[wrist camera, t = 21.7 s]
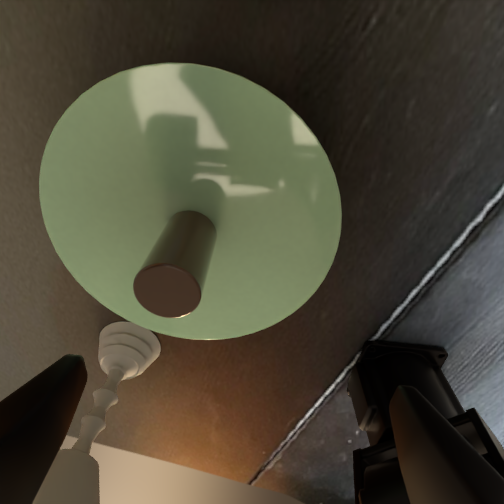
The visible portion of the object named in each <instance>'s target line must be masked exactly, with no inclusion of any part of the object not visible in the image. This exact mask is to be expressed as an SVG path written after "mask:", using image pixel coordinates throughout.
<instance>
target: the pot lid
mask: <svg viewBox="0 0 504 504" xmlns="http://www.w3.org/2000/svg"><path fill="white" fill-rule="evenodd" d="M39 195H40V204H41V210H42V215H43V220H44V223H45V226H46V229H47V232H48V235H49V237H50V239H51V242H52V244H53V246H54V248H55V250H56V252H57V254H58V255H59V257H60V259H61V260H62V262H63V263H64V265H65V267H66V268H67V269H68V270H69V272H70V273H71V274H72V276H73V277H74V278H75V279H76V281H77V282H78V283H79V284H80V285H81V286H82V287H83V288H84V289H85V290H86V291H87V292H88V293H89V294H90V295H92V296H93V297H94V298H95V299H96V300H97V301H99V302H100V303H101V304H102V305H104V306H105V307H107V308H108V309H110V310H111V311H113V312H114V313H116V314H117V315H119V316H121V317H123V318H125V319H126V320H128V321H130V322H132V323H134V324H137V325H139V326H141V327H143V328H146V329H149V330H152V331H155V332H158V333H161V334H166V335H170V336H174V337H180V338H187V339H199V340H215V339H227V338H234V337H239V336H243V335H247V334H251V333H254V332H257V331H260V330H262V329H265V328H268V327H270V326H272V325H274V324H276V323H278V322H280V321H281V320H283V319H284V318H286V317H287V316H289V315H291V314H292V313H294V312H295V311H296V310H297V309H298V308H299V307H301V306H302V305H303V304H304V303H305V302H306V301H307V300H308V299H309V298H310V297H311V296H312V295H313V294H314V293H315V291H316V290H317V289H318V287H319V286H320V284H321V283H322V281H323V280H324V279H325V277H326V275H327V273H328V271H329V269H330V267H331V265H332V263H333V260H334V257H335V254H336V251H337V249H338V244H339V239H340V234H341V221H342V209H341V199H340V192H339V188H338V184H337V180H336V176H335V173H334V171H333V168H332V166H331V163H330V161H329V159H328V156H327V154H326V153H325V151H324V149H323V147H322V146H321V144H320V142H319V141H318V139H317V137H316V136H315V134H314V133H313V132H312V130H311V129H310V128H309V127H308V126H307V124H306V123H305V122H304V121H303V119H302V118H301V117H300V116H299V115H298V114H297V113H296V112H295V111H294V110H293V109H292V108H291V107H290V106H288V105H287V104H286V103H285V102H284V101H283V100H282V99H280V98H279V97H277V96H276V95H275V94H273V93H272V92H270V91H269V90H267V89H266V88H265V87H263V86H261V85H259V84H257V83H255V82H253V81H251V80H249V79H247V78H245V77H243V76H241V75H238V74H235V73H232V72H230V71H227V70H224V69H221V68H217V67H212V66H207V65H201V64H196V63H176V62H167V63H158V64H150V65H142V66H139V67H135V68H132V69H128V70H125V71H121V72H119V73H117V74H115V75H112V76H110V77H108V78H106V79H104V80H102V81H100V82H98V83H97V84H95V85H94V86H93V87H91V88H90V89H88V90H87V91H85V92H84V93H83V94H81V95H80V96H79V97H78V98H77V99H76V100H75V101H74V102H73V103H72V104H71V105H70V106H69V107H68V108H67V109H66V111H65V112H64V114H63V115H62V117H61V118H60V119H59V121H58V122H57V124H56V125H55V127H54V129H53V131H52V133H51V135H50V137H49V140H48V142H47V144H46V147H45V151H44V154H43V158H42V162H41V169H40V177H39Z"/></svg>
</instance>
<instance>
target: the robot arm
mask: <svg viewBox="0 0 504 504" xmlns="http://www.w3.org/2000/svg"><path fill="white" fill-rule="evenodd" d="M370 347H371V348H370ZM447 357H448V353H447V352H446V350H445V349H444V348H441V347H430V346H420V345H410V344H400V343H390V342H379V341H368V342H366V343H365V345H364V347H363V350H362V352H361V355H360V357H359V360H358V362H357V363H356V364H355V365H354V368H353V371H352V373H351V376H350V378H349V381H348V388H347V393H348V396H349V397H351V398H352V402H353V406H354V410H355V414H356V418H357V422H358V425H359V427H360V429H361V430H365V431H366V432H367V435H368V439H369V443H370V446H369V447H367V448H364V449H360V448H359V449H357V450H354V451H353V462H354V463H353V469H354V488H355V504H504V448H503V447H502V445H501V444H500V442H499V441H498V439H497V438H496V436H495V435H494V434H493V432H492V431H491V430H490V428H489V427H488V426H487V424H486V423H485V421H484V420H483V419H482V417H481V416H480V415H479V413H478V412H477V411H476V409H475V408H471V409H468V410H466V412H465V411H464V409H463V407H462V406H461V404H460V402H459V400H458V399H457V397H456V395H455V393H454V392H453V390H452V388H451V386H450V384H449V383H448V381H447V379H446V377H445V376H444V374H443V372H442V370H441V367H442V365H443V364H444V362H445V360H446V358H447ZM86 382H87V370H86V366H85V362H84V358H83V357H82V356H81V355H73V354H68V355H65V356H63V357H62V358H61V359H59V360H58V361H56V362H55V363H54V364H52V365H51V366H49V367H48V368H47V369H45V370H44V371H42V372H41V373H40V374H38V375H37V376H35V377H34V378H33V379H31V380H30V381H28V382H27V383H26V384H24V385H23V386H21V387H20V388H19V389H17V390H16V391H15V392H13V393H12V394H10V395H9V396H8V397H6V398H5V399H3V400H2V401H1V402H0V504H32V503H33V501H34V499H35V497H36V495H37V493H38V491H39V489H40V487H41V485H42V483H43V481H44V479H45V477H46V475H47V473H48V471H49V469H50V467H51V465H52V463H53V461H54V459H55V457H56V455H57V453H58V451H59V449H60V447H61V445H62V443H63V441H64V439H65V437H66V434H67V432H68V429H69V427H70V424H71V422H72V419H73V416H74V414H75V411H76V409H77V406H78V403H79V401H80V398H81V396H82V393H83V390H84V388H85V385H86Z"/></svg>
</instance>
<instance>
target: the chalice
mask: <svg viewBox="0 0 504 504" xmlns="http://www.w3.org/2000/svg"><path fill="white" fill-rule="evenodd" d="M99 342H100V344H99V355H98V359H99V363H100V366H101V368H102V370H103V371H104V372H105V373H106V374H108V377H107V381H106V382H105V384H104V385H103V386H102V388H100V389H97V390H95V391H94V392H93V397H94V399H95V403H94V408H93V409H92V410H91V411H90V412H89V414H87V415H86V416H84V417H83V418H82V419H81V423H82V428H81V432H80V435H79V439H78V440H77V442H76V443H75V445H74V446H73V447H72V449H62V450H59V451H58V453H57V455H56V457H55V459H54V461H53V463H52V465H51V467H50V469H49V471H48V473H47V475H46V477H45V479H44V481H43V483H42V485H41V487H40V489H39V491H38V493H37V495H36V497H35V499H34V501H33V503H32V504H100V503H99V502H100V500H99V465H98V463H97V461H96V460H95V459H94V458H93V457H91V456H90V455H89V453H90V449H91V444H92V442H93V441H94V439H95V438H96V436H97V435H98V433H99V432H100V431H102V430H103V429H104V428H105V427H106V423H105V414H106V411H107V410H108V409H109V407H110V406H112V405H114V404H116V403H117V402H118V396H117V394H116V391H117V386H118V384H119V383H120V382H121V380H126V379H131V378H134V377H136V376H138V375H140V374H142V373H143V372H144V371H145V369H146V368H148V367H149V365H150V364H151V363H152V362H153V361H155V360H156V359H157V358H158V356H159V354H160V351H161V347H160V342H159V341H158V339H157V337H156V336H155V335H154V334H153V333H152V332H151V331H150V330H149V329H146V328H143V327H141V326H139V325H137V324H134V323H132V322H115V323H111V324H109V325H108V326H106V327H104V328H103V330H102V331H101V332H100V337H99Z"/></svg>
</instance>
